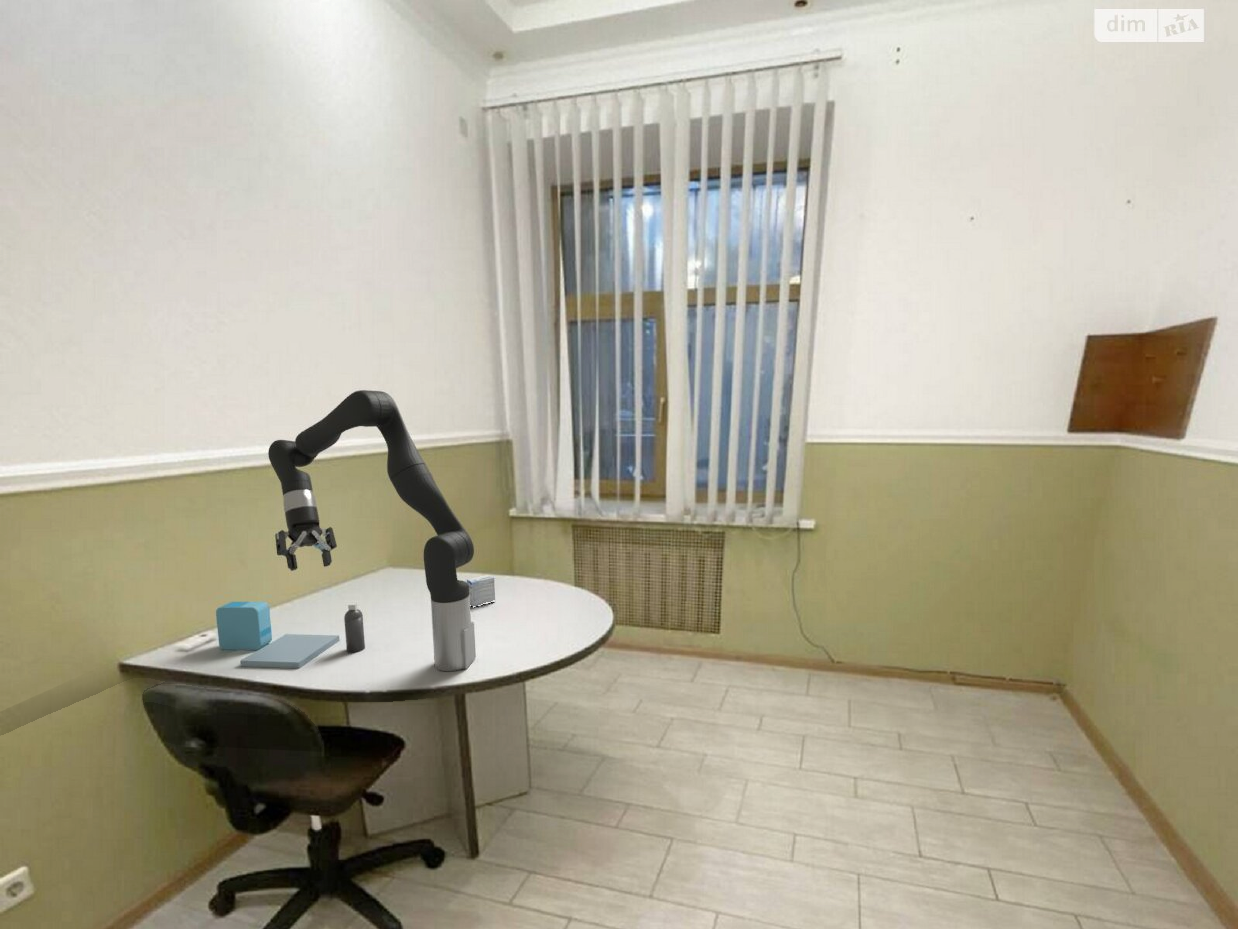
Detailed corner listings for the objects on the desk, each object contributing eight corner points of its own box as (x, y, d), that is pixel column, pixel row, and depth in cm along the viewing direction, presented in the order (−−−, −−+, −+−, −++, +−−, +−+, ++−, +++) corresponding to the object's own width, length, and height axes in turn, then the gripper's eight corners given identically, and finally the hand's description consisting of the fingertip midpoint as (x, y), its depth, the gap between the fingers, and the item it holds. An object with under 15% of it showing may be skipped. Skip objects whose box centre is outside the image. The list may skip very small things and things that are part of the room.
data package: (273, 643, 147) (269, 601, 146) (260, 650, 143) (257, 607, 142) (232, 642, 148) (228, 601, 147) (219, 650, 144) (214, 607, 143)
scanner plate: (339, 640, 148) (339, 635, 148) (299, 668, 132) (299, 662, 132) (286, 639, 150) (286, 634, 150) (240, 666, 134) (240, 660, 134)
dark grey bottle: (368, 646, 144) (365, 601, 143) (358, 653, 140) (355, 607, 139) (353, 645, 145) (349, 601, 143) (343, 652, 140) (339, 607, 139)
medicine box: (489, 599, 179) (488, 574, 178) (495, 602, 175) (494, 577, 175) (467, 605, 174) (466, 579, 173) (473, 608, 170) (472, 582, 170)
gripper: (279, 505, 135) (289, 567, 131) (334, 504, 147) (345, 560, 143) (265, 515, 138) (275, 575, 135) (320, 513, 151) (330, 568, 147)
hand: (311, 567), depth 139 cm, fingers open, 8 cm apart
